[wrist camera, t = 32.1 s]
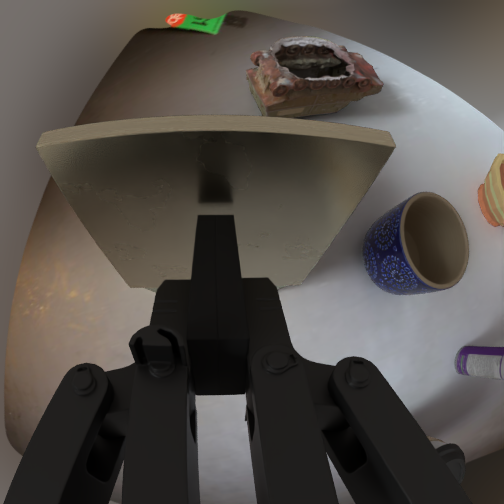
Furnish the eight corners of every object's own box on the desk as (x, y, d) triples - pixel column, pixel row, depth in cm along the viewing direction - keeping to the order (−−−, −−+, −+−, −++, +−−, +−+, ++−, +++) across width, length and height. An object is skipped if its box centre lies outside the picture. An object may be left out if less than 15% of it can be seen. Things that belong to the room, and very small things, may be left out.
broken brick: (236, 68, 42) (241, 23, 32) (344, 68, 45) (363, 32, 36) (253, 129, 40) (263, 83, 30) (372, 124, 43) (400, 88, 33)
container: (473, 344, 37) (542, 345, 22) (470, 372, 36) (538, 379, 21) (455, 347, 37) (529, 349, 22) (453, 375, 36) (524, 386, 21)
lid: (42, 131, 8) (34, 147, 8) (389, 130, 9) (397, 146, 9) (130, 277, 21) (130, 287, 21) (299, 275, 22) (300, 285, 22)
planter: (428, 268, 38) (481, 252, 28) (382, 315, 36) (436, 311, 25) (389, 206, 40) (434, 175, 29) (337, 247, 37) (380, 221, 26)
